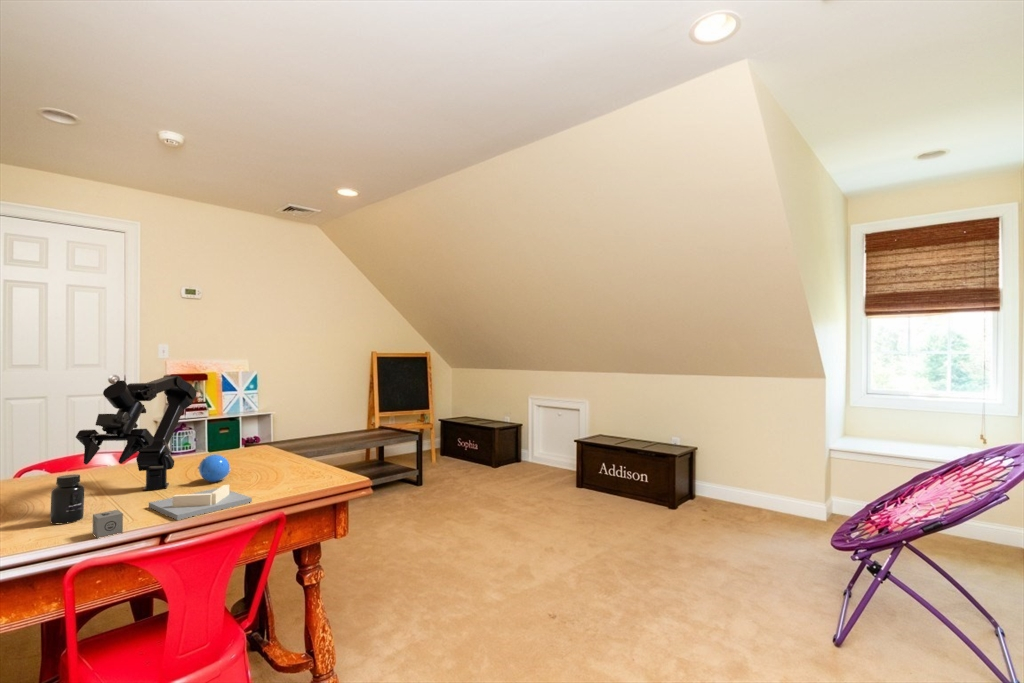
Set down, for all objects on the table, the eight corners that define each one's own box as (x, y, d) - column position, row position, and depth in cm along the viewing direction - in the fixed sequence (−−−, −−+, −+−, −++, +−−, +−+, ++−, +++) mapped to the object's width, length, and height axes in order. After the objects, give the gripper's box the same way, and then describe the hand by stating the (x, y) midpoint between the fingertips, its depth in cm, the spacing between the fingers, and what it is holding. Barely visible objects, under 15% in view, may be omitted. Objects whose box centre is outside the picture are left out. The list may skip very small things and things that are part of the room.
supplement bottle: (75, 523, 135) (76, 478, 135) (44, 526, 133) (45, 480, 133) (89, 515, 141) (89, 472, 142) (59, 517, 139) (60, 474, 140)
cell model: (235, 476, 186) (235, 450, 186) (225, 484, 174) (225, 456, 175) (204, 478, 183) (204, 451, 184) (193, 486, 172) (193, 458, 172)
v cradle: (148, 507, 148) (148, 492, 148) (220, 492, 164) (220, 478, 165) (177, 520, 137) (177, 503, 137) (251, 502, 153) (251, 487, 153)
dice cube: (92, 534, 127) (92, 514, 127) (117, 529, 131) (117, 509, 131) (97, 539, 124) (97, 518, 124) (122, 533, 127) (122, 513, 127)
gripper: (79, 402, 148) (50, 449, 138) (147, 401, 150) (123, 448, 140) (99, 423, 156) (73, 469, 146) (163, 422, 158) (142, 467, 148)
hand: (102, 463), depth 145 cm, fingers open, 9 cm apart
